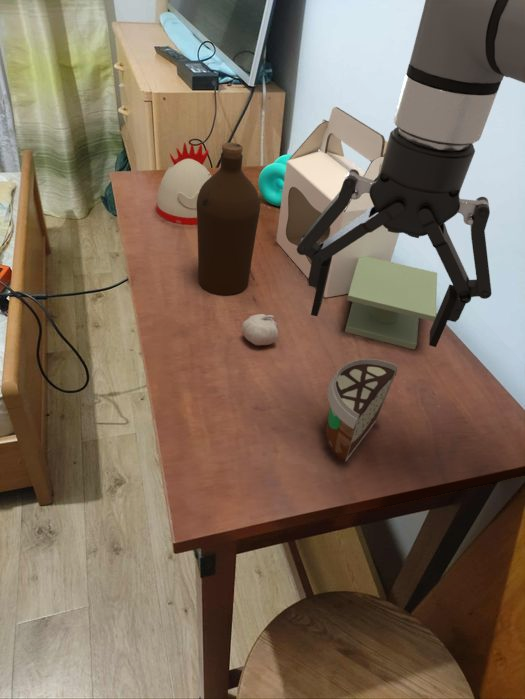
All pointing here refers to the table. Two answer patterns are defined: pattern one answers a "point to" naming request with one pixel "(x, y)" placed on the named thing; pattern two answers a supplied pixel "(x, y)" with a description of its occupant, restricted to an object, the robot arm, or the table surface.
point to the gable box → (332, 196)
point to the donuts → (273, 180)
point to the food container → (356, 402)
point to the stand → (390, 301)
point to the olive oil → (227, 226)
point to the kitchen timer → (182, 186)
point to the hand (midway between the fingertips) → (373, 324)
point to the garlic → (260, 329)
